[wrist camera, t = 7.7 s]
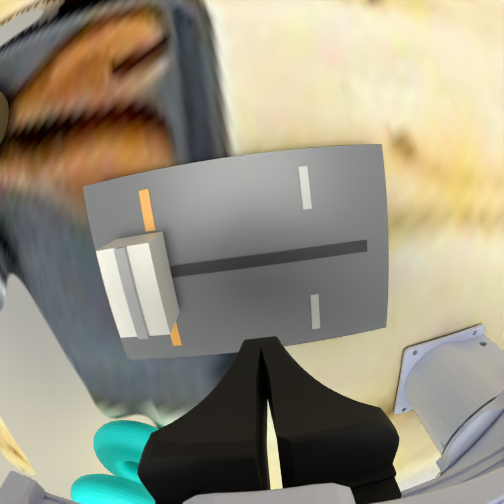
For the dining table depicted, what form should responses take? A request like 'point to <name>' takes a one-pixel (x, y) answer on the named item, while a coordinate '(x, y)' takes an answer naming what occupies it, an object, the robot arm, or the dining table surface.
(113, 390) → the dining table surface
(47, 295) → the dining table surface
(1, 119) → the squeeze bottle
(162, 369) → the dining table surface
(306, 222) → the console
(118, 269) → the fader
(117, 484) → the donuts
